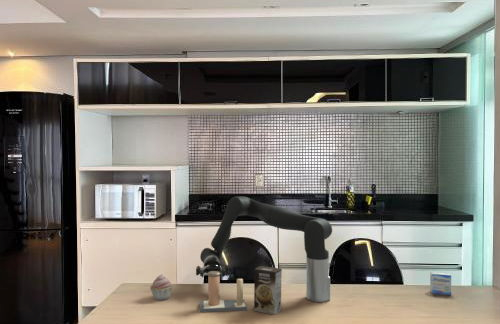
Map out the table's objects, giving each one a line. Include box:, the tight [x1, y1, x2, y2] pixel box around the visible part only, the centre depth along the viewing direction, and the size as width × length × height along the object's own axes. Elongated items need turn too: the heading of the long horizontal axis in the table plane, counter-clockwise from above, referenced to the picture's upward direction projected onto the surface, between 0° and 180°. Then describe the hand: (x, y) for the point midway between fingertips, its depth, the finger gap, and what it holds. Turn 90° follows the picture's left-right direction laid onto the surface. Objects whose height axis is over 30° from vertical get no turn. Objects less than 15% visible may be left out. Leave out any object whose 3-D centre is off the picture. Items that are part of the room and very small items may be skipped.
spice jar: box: [207, 271, 221, 306], centre depth 156 cm, size 5×5×12 cm
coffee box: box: [253, 265, 283, 315], centre depth 153 cm, size 9×6×16 cm
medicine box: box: [429, 271, 452, 296], centre depth 175 cm, size 8×4×9 cm, turn 73°
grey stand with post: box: [199, 278, 248, 313], centre depth 157 cm, size 18×9×11 cm, turn 97°
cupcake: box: [149, 274, 173, 301], centre depth 167 cm, size 9×9×10 cm
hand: (213, 274), depth 168 cm, fingers open, 8 cm apart
